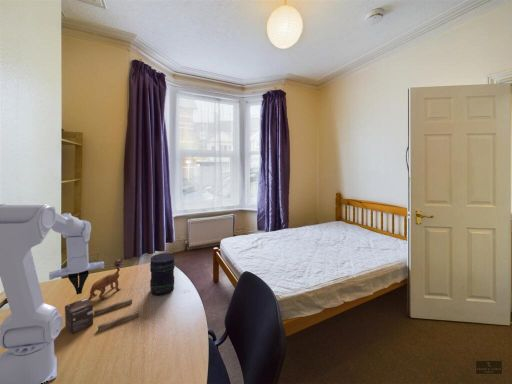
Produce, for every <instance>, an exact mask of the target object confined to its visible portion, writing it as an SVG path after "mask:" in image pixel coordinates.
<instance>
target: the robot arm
mask: <svg viewBox="0 0 512 384" xmlns="http://www.w3.org/2000/svg"><path fill="white" fill-rule="evenodd" d="M50 230H53V231H54V232H55V233H59V234H61V237H62V238H64V239H66V240H65V243H66V244H65V245H66V267H64V268H59V269H57V270H53V271H49V273H48V279H49V281H51V280H52V281H53V280H54V279H57V278H61V277H62V278H63V277H67V278H68V280H69V281H70V283H71V284H72V286H73V287H74V290H75V291H76V292H75V294H76V295H81V294H82V293H83V289H84V288H83V287H84V285H85V283H86V282H87V281H86V280H87V279H88V277H89V274H90V273H89V271H94V270H99V269H105V262H104V260H103V261H97V262H96V261H95V262H89V261H90V260H89V259H90V258H89V241H90V239H91V238H90V237H91V233H92V224H91V222H90V221H88V220H85V219H79V217H76V216H73V215H72V213H70V212H64V213H61V214H60V213H58V212H57V210H56V207H55V206H52V205H51V204H49V203H48V204H47V203H46V204H3V203H2V204H1V203H0V280H1V285H2V288H3V290H4V293H5V294H4V295H5V296H6V301H7V303H8V307H9V310H10V314H9V315H8V316H6V317H5V318H4V320H2V322H1V324H0V347H1V348H2V349H7V350H6V351H4V352H2V353H0V384H41V383H43V382H45V383H47V382H46V381H48V382H50V381H52V380H54V379H56V378H57V377H58V357H57V356H56V355H55V340H56V339H57V338H58V336H60V335H59V334H60V333H61V331H62V328H63V324H64V323H63V322H64V321H63V320H64V319H63V316H62V314H61V313H59V311H58V308H57V307H55V306H53V305H51V304H48V303H46V302H45V301H44V299H43V294H42V291H41V289H42V288H41V286H40V281H39V278H38V274H37V269H36V265H35V261H34V258H33V254H32V248H33V247H35V246H38V245H40V244H42V243H43V241H44V240H45V238H46V237H47V235H48V234H49V232H50ZM43 384H44V383H43Z"/></svg>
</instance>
